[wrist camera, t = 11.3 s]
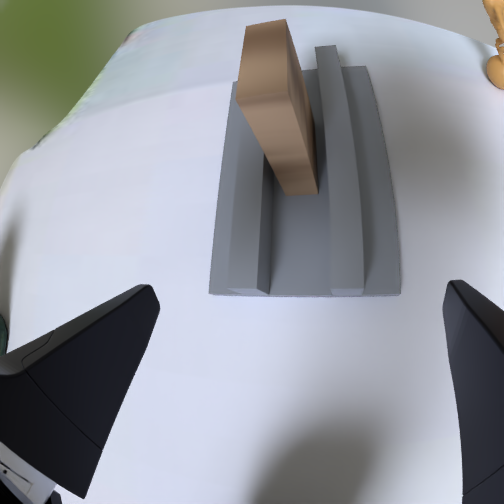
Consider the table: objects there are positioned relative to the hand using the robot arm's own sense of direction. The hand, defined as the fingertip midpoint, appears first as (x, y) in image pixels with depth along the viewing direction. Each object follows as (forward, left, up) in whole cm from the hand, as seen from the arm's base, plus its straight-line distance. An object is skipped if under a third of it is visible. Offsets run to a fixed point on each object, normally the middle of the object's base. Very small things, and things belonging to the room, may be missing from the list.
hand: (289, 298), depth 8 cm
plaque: (+12, +5, -12) cm, 18 cm away
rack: (+12, +5, -13) cm, 18 cm away
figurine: (+29, -13, -14) cm, 34 cm away
